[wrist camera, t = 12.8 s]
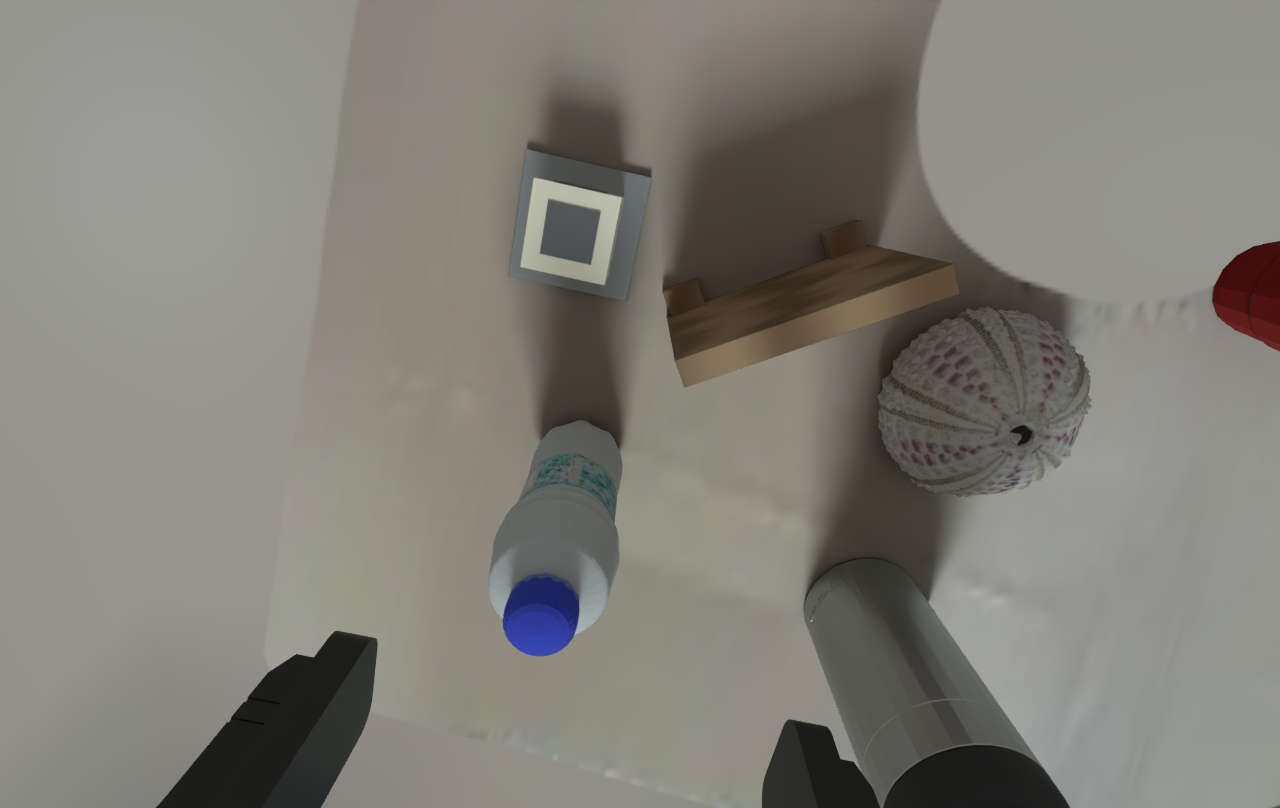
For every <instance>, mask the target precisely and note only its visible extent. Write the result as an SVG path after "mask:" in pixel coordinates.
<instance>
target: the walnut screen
mask: <svg viewBox="0 0 1280 808" xmlns="http://www.w3.org/2000/svg"><path fill="white" fill-rule="evenodd" d="M821 237H822V241H823V244H824V248H825V252H826V256H827V259H824V260H822V261H819V262H816V263H813V264H810V265H808V266H805V267H802V268H799V269H796V270H794V271H791V272H788V273H785V274H782V275H780V276H777V277H774V278H771V279H768V280H766V281H763V282H760V283H757V284H754V285H752V286H749V287H746V288H743V289H740V290H738V291H735V292H732V293H729V294H726V295H724V296H721V297H718V298H715V299H712V300H710V301H707V302H704V299H703V296H702V293H701V290H700V287H699V284H698V281H697V279H696V278H695V279H692V280H689V281H686V282H684V283H681V284H678V285H675V286H673V287H670V288H667V289H664V290H662V291H663V294H664V297H665V300H666V303H667V306H668V309H669V312H670V315H668V316H667V320H668V326H669V331H670V337H671V342H672V347H673V353H674V358H675V362H676V365H677V368H678V371H679V374H680V376H681V379H682V382H683V385H684V388H685V387H688V386H691V385H694V384H697V383H700V382H703V381H706V380H709V379H711V378H714V377H717V376H720V375H723V374H726V373H729V372H732V371H735V370H738V369H741V368H744V367H747V366H750V365H752V364H755V363H758V362H761V361H764V360H767V359H770V358H773V357H776V356H779V355H782V354H785V353H788V352H791V351H794V350H796V349H799V348H802V347H805V346H808V345H811V344H814V343H817V342H820V341H823V340H826V339H829V338H832V337H835V336H837V335H840V334H843V333H846V332H849V331H852V330H855V329H858V328H861V327H864V326H867V325H870V324H873V323H876V322H879V321H881V320H884V319H887V318H890V317H893V316H896V315H899V314H902V313H905V312H908V311H911V310H914V309H917V308H920V307H923V306H925V305H928V304H931V303H934V302H937V301H940V300H943V299H946V298H949V297H952V296H955V295H958V294H960V293H959V287H958V282H957V277H956V272H955V267H954V264H952V263H947V262H943V261H939V260H934V259H930V258H925V257H921V256H917V255H912V254H908V253H903V252H899V251H894V250H890V249H886V248H881V247H877V246H872V245H868V244H867V242H866V237H865V233H864V229H863V225H862V221H861V220H855V221H852V222H849V223H846V224H844V225H841V226H838V227H835V228H833V229H830V230H827V231H824V232H822V233H821Z"/></svg>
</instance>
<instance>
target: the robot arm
mask: <svg viewBox="0 0 1280 808" xmlns="http://www.w3.org/2000/svg"><path fill="white" fill-rule="evenodd" d="M804 615H805V622H806V625H807V627H808V630H809V633H810V635H811V638H812V641H813V643H814V646H815V649H816V651H817V654H818V657H819V660H820V663H821V666H822V668H823V671H824V674H825V676H826V679H827V682H828V684H829V687H830V690H831V692H832V695H833V698H834V700H835V703H836V705H837V708H838V711H839V713H840V716H841V719H842V721H843V724H844V727H845V729H846V732H847V735H848V737H849V740H850V743H851V745H852V748H853V751H854V753H855V756H856V759H857V761H858V764H859V767H860V769H861V771H860V770H859V769H858V767H857V766H856V765H855V763H854V762H852V761H847V760H841V759H840V757H839V754H838V751H837V748H836V745H835V742H834V739H833V736H832V733H831V731H830V730H829V728H828V727H826V726H821V725H816V724H811V723H806V722H801V721H795V720H787V721H786V723H785V724H784V727H783V729H782V732H781V734H780V737H779V740H778V743H777V745H776V748H775V751H774V753H773V756H772V759H771V761H770V764H769V767H768V769H767V772H766V775H765V778H764V783H763V790H762V808H1070V807H1069V805H1068V803H1067V802H1066V800H1065V798H1064V797H1063V795H1062V794H1061V793H1060V791H1059V790H1058V788H1057V787H1056V785H1055V784H1054V783H1053V781H1052V780H1051V778H1050V777H1049V775H1048V774H1047V773H1046V771H1045V770H1044V768H1043V767H1042V765H1041V764H1040V763H1039V761H1038V760H1037V758H1036V757H1035V755H1034V754H1033V752H1032V751H1031V750H1030V748H1029V747H1028V745H1027V744H1026V742H1025V741H1024V740H1023V738H1022V737H1021V735H1020V734H1019V732H1018V731H1017V729H1016V728H1015V727H1014V726H1013V724H1012V723H1011V721H1010V720H1009V718H1008V717H1007V716H1006V714H1005V713H1004V711H1003V710H1002V708H1001V707H1000V705H999V704H998V703H997V701H996V700H995V698H994V697H993V695H992V694H991V692H990V691H989V690H988V688H987V687H986V685H985V684H984V682H983V681H982V680H981V678H980V677H979V675H978V674H977V672H976V671H975V669H974V668H973V667H972V665H971V664H970V662H969V661H968V659H967V658H966V656H965V655H964V654H963V652H962V651H961V649H960V648H959V646H958V645H957V644H956V642H955V641H954V639H953V638H952V636H951V635H950V633H949V632H948V631H947V629H946V628H945V626H944V625H943V623H942V622H941V620H940V619H939V618H938V616H937V615H936V613H935V611H934V610H933V609H932V607H931V606H930V604H929V603H928V602H927V600H926V599H925V597H924V596H923V594H922V593H921V591H920V590H919V589H918V587H917V586H916V584H915V583H914V581H913V580H912V579H911V577H910V576H909V575H908V574H907V573H906V572H905V571H904V570H903V569H901V568H899V567H898V566H896V565H894V564H892V563H889V562H886V561H883V560H877V559H857V560H853V561H849V562H845V563H843V564H840V565H838V566H836V567H834V568H832V569H831V570H829V571H828V572H826V573H825V574H823V575H822V576H821V577H820V578H819V579H818V580H817V581H816V582H815V584H814V585H813V587H812V588H811V590H810V591H809V593H808V596H807V599H806V601H805V608H804ZM376 656H377V639H376V638H372V637H367V636H362V635H356V634H351V633H346V632H341V631H335V632H334V633H333V634H332V635H331V636H330V637H329V638H328V639H327V641H326V642H325V643H324V645H323V646H322V647H321V649H320V650H319V651H318V653H317V654H316V655H315V657H314V658H313V657H308V656H303V655H298V654H296V655H295V656H293V657H291V658H290V659H288V660H287V661H285V662H284V663H282V664H281V665H279V666H278V667H276V668H275V669H273V670H271V671H270V672H268V673H267V675H266V676H265V677H264V678H263V679H262V681H261V682H260V683H259V684H258V686H257V687H256V688H255V689H254V690H253V692H252V693H251V694H250V695H249V697H248V699H247V701H246V702H244V703H243V704H242V705H241V706H240V707H239V709H238V710H237V711H236V712H235V714H234V715H233V716H232V717H231V720H230V722H229V723H228V722H227V723H226V724H225V726H224V727H223V728H222V729H221V730H220V732H219V733H218V734H217V736H215V738H214V739H213V740H212V741H211V743H210V744H209V745H208V746H207V747H206V749H205V750H204V751H203V752H202V753H201V755H200V756H199V757H198V758H197V760H196V761H195V762H194V763H193V764H192V766H191V767H190V768H189V769H188V770H187V772H186V773H185V774H184V775H183V776H182V778H181V779H180V780H179V781H178V783H177V784H176V785H175V786H174V787H173V789H172V790H171V791H170V792H169V793H168V795H167V796H166V797H165V798H164V799H163V801H162V802H161V803H160V804H159V805H158V806H157V807H156V808H321V806H322V804H323V803H324V801H325V799H326V797H327V795H328V794H329V792H330V790H331V788H332V786H333V785H334V782H335V781H336V779H337V777H338V775H339V774H340V772H341V770H342V768H343V766H344V765H345V763H346V761H347V759H348V757H349V756H350V754H351V752H352V750H353V748H354V747H355V745H356V743H357V741H358V739H359V737H360V735H361V733H362V731H363V729H364V726H365V724H366V721H367V718H368V715H369V712H370V708H371V703H372V695H373V685H374V676H375V666H376ZM861 772H862V773H861Z"/></svg>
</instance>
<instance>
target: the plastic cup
mask: <svg viewBox="0 0 1280 808" xmlns="http://www.w3.org/2000/svg"><path fill="white" fill-rule="evenodd" d="M1213 305H1214V308H1215V311H1216V314H1217V316H1218V317H1219V318H1220V319H1222V320H1223V321H1224V322H1225V323H1226V324H1227V325H1229V326H1231V327H1232V328H1233V329H1234V330H1237V331H1239V332H1241V333H1244V334H1246V335H1248V336H1251V337H1253V338H1255V339H1258V340H1260V341H1262V342H1264V343H1265V344H1266V345H1267V346H1269V347H1271V348H1274V349H1276V350H1278V351H1280V241H1278V242H1272V243H1267V244H1263V245H1259V246H1254V247H1252V248H1250V249H1248V250H1247V251H1244V252H1243V253H1241V254H1239V255H1237V256H1236V257H1235V258H1234V259H1233V260H1232V261H1231V262H1230V263H1229V264H1228V265H1227V266H1226V267H1225V268H1224V269H1223V271H1222V272H1221V274H1220V276H1219V278H1218V280H1217V282H1216V284H1215V286H1214V294H1213Z"/></svg>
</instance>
